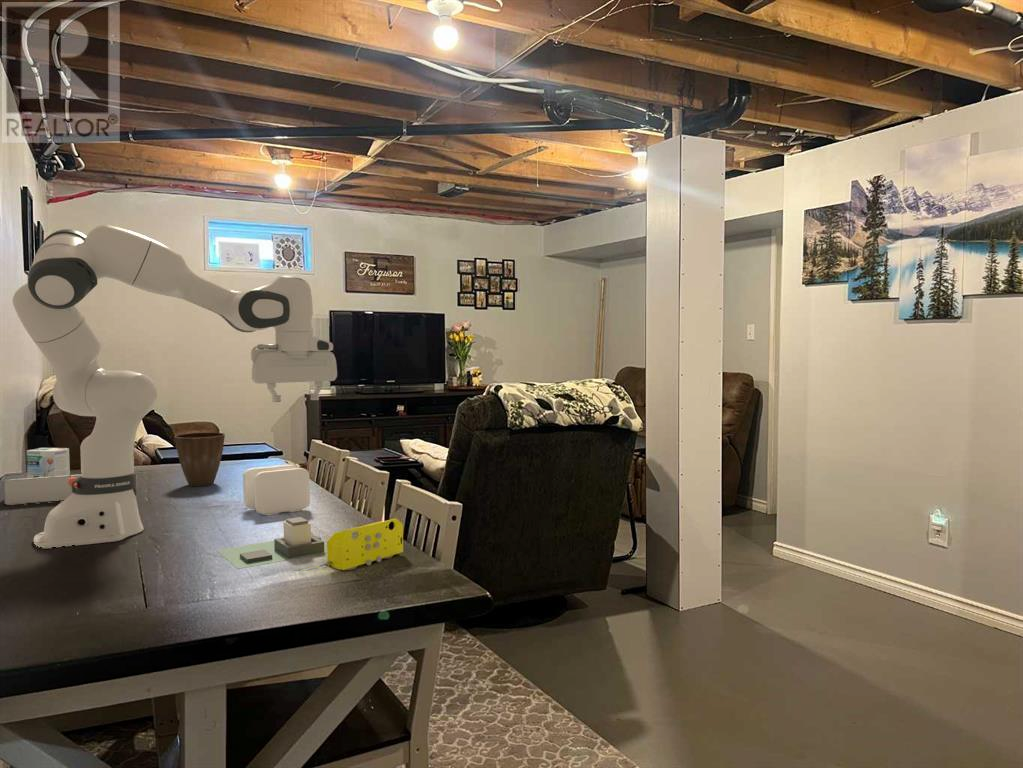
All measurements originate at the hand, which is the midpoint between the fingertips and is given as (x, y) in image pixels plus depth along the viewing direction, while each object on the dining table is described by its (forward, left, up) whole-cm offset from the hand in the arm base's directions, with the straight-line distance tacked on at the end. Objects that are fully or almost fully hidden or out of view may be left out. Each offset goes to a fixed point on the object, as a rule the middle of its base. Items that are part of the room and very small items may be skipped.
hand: (296, 401), depth 178 cm
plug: (-9, -25, -30) cm, 40 cm away
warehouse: (-41, +79, -32) cm, 94 cm away
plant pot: (-5, +74, -31) cm, 81 cm away
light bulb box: (-44, +111, -31) cm, 123 cm away
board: (-13, -22, -31) cm, 40 cm away
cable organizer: (+2, +22, -31) cm, 38 cm away
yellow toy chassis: (+1, -36, -32) cm, 48 cm away
